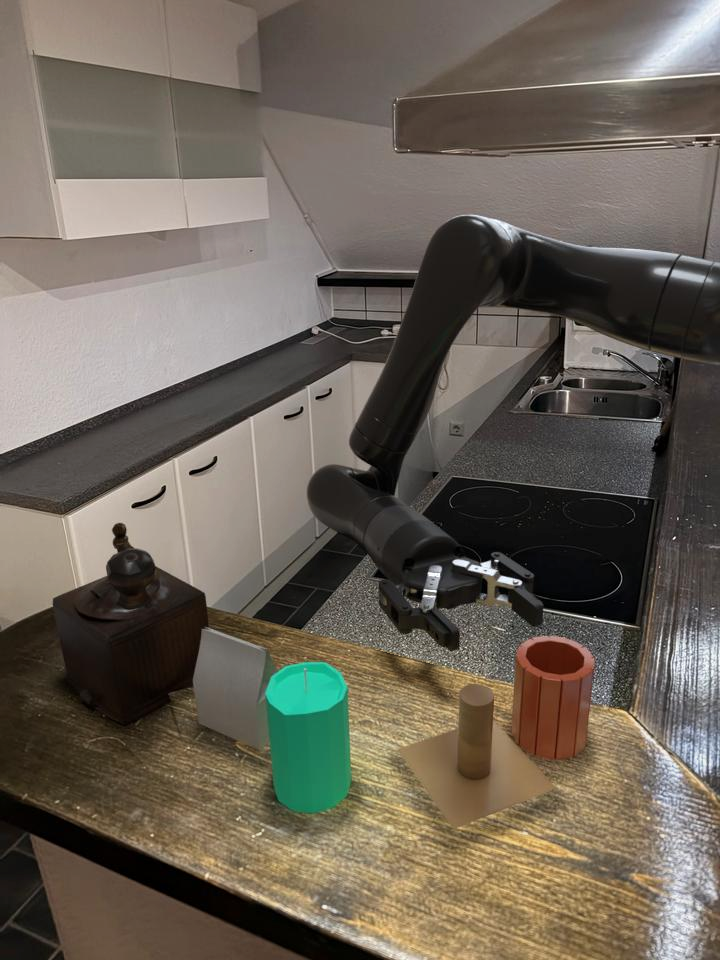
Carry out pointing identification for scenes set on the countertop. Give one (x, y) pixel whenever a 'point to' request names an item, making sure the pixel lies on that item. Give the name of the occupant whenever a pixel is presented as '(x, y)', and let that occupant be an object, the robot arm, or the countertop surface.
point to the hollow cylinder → (552, 696)
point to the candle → (309, 736)
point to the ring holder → (474, 764)
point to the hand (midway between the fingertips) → (498, 629)
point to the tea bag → (233, 687)
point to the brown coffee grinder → (130, 634)
